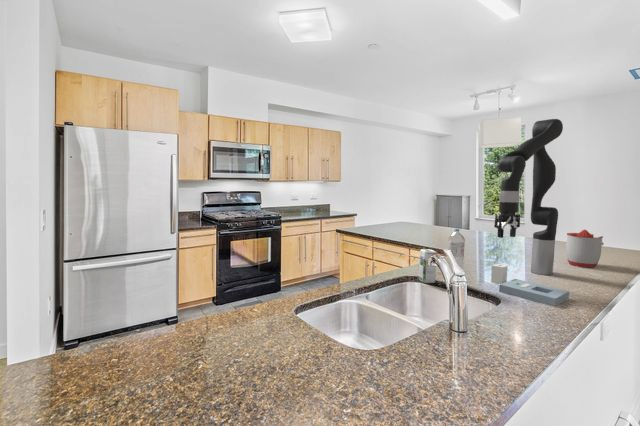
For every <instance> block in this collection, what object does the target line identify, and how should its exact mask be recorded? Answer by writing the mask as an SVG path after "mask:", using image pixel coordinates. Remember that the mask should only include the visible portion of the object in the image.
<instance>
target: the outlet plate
mask: <svg viewBox="0 0 640 426" xmlns="http://www.w3.org/2000/svg"><path fill="white" fill-rule="evenodd" d="M498 291H499V293H503V294H506V295H511V296H515V297H519V298H521V299H525V300H529V301H533V302H535V303H536V302H537V303H541V304H543V305H547V306H551V307H556V306H559V305H560V304H562V303H564V302H566V301H568V300H569V299H570V291H569V290H567V289H561V288H557V287H552V286H549V285H543V284H540V283H535V282H531V281H526V280H522V279H519V278H518V279H517V278H514V279H511V280H509V281H507V282H505V283H502V284H500V285H499V284H498Z"/></svg>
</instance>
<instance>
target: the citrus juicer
mask: <svg viewBox="0 0 640 426" xmlns="http://www.w3.org/2000/svg"><path fill="white" fill-rule="evenodd" d="M603 238H604V236H597V237H594V234H593V233H590V232H589V231H588V230H587V229H583V230H581V231H580V232H567V233H566V246H565V253H566V258H567V259H566V260H567V262H568V264H569V265H571V266H574V267H575V266H576V267H579V268H596V267H597V265H598V264H599V261H600V259H601V256H602V248H603V247H602V246H604V242H603Z"/></svg>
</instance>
